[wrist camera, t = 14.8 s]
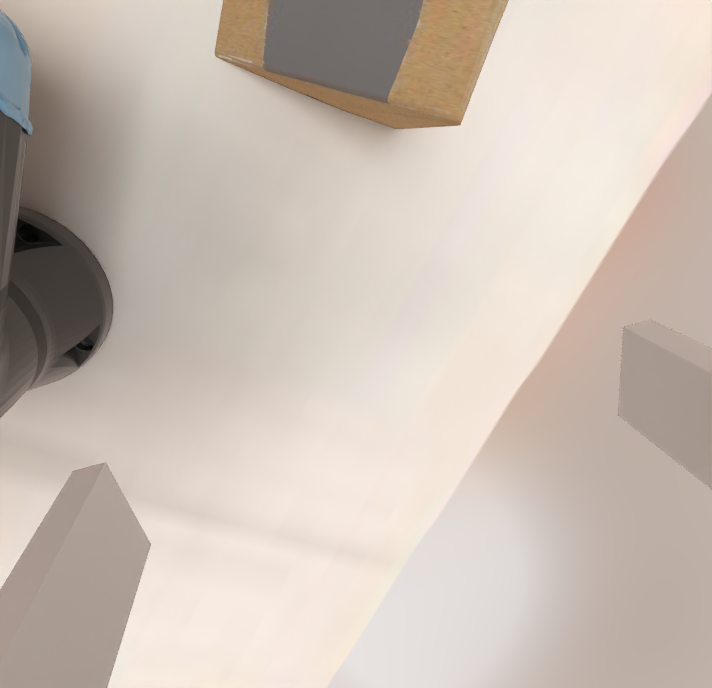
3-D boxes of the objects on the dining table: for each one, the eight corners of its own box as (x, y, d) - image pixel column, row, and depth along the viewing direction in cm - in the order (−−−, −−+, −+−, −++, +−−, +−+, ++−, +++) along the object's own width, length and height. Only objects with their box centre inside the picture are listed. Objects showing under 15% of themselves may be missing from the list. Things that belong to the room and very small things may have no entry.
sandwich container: (238, -79, 32) (212, -246, 18) (435, 17, 36) (534, -60, 22) (210, 58, 34) (170, 2, 21) (396, 132, 39) (463, 126, 25)
